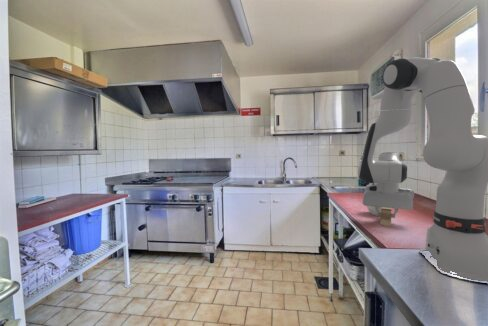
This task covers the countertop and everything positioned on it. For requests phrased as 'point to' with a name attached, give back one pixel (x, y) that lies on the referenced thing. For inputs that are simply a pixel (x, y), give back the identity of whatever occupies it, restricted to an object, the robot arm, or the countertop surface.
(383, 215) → the beech block
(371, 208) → the lidded jar
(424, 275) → the countertop surface
